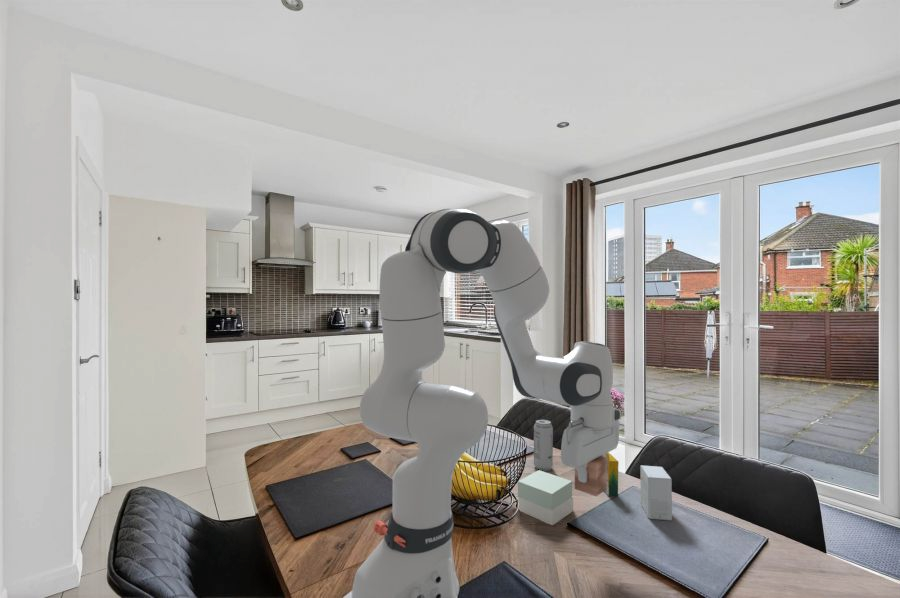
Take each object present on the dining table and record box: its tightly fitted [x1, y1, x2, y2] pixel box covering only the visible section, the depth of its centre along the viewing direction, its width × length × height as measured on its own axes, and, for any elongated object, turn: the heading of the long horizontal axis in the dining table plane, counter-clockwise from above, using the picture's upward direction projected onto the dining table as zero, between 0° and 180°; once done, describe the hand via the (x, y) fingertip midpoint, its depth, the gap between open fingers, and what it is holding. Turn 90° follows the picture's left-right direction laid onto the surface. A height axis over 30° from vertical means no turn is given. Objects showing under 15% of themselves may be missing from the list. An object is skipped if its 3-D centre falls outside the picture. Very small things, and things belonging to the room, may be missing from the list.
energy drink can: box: [533, 419, 554, 472], centre depth 135 cm, size 6×6×15 cm
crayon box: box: [604, 452, 619, 497], centre depth 120 cm, size 7×3×12 cm, turn 0°
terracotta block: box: [574, 456, 607, 497], centre depth 92 cm, size 5×5×7 cm
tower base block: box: [518, 496, 574, 526], centre depth 108 cm, size 10×10×4 cm
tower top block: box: [517, 469, 573, 510], centre depth 108 cm, size 10×10×4 cm
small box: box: [639, 465, 673, 521], centre depth 107 cm, size 8×6×10 cm
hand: (590, 477), depth 92 cm, fingers closed on terracotta block, 5 cm apart
